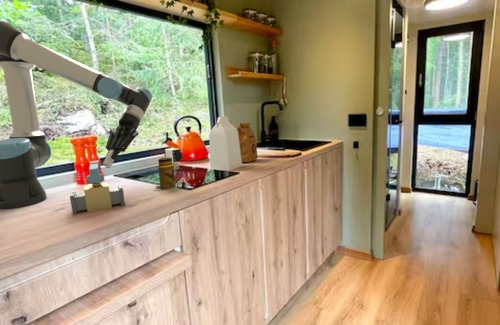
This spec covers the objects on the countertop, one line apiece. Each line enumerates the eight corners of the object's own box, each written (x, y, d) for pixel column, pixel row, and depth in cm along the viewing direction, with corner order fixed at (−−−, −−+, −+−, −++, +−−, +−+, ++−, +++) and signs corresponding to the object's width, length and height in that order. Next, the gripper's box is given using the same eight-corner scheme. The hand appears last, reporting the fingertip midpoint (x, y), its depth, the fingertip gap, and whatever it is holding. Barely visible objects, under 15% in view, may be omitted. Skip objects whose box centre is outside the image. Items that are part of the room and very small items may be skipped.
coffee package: (260, 159, 169) (258, 121, 165) (248, 164, 159) (246, 123, 155) (246, 159, 175) (243, 121, 171) (233, 163, 165) (231, 123, 161)
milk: (228, 170, 145) (224, 117, 140) (210, 169, 151) (206, 118, 146) (242, 165, 155) (238, 115, 150) (224, 164, 161) (220, 116, 156)
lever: (87, 184, 93) (84, 169, 92) (88, 175, 108) (86, 161, 108) (104, 182, 96) (102, 167, 95) (103, 173, 111) (101, 160, 110)
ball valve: (72, 215, 92) (68, 188, 90) (74, 209, 98) (70, 184, 97) (125, 205, 98) (121, 180, 97) (123, 200, 105) (120, 176, 103)
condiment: (176, 188, 117) (173, 158, 114) (154, 191, 115) (150, 161, 113) (176, 184, 124) (173, 156, 121) (155, 186, 122) (152, 158, 120)
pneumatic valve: (176, 171, 150) (173, 148, 148) (165, 169, 159) (163, 146, 157) (185, 169, 154) (183, 146, 152) (174, 167, 162) (172, 145, 160)
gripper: (113, 112, 121) (85, 160, 109) (139, 111, 117) (114, 160, 105) (123, 125, 127) (99, 171, 115) (149, 123, 123) (126, 171, 111)
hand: (106, 165), depth 110 cm, fingers closed
